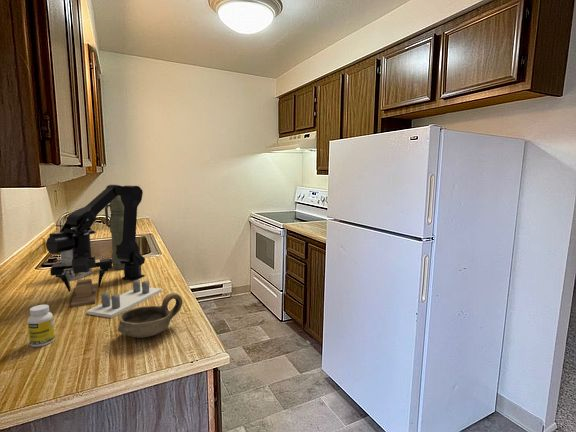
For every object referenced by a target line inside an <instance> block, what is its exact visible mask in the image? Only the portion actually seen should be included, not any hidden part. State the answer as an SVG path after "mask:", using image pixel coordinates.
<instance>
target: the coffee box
mask: <svg viewBox="0 0 576 432" xmlns="http://www.w3.org/2000/svg"><path fill="white" fill-rule="evenodd" d="M60 259H61V260H60V263H65V264H66V266H67V265H72V259H73V255H72V250H69V251H65V252H60ZM92 270H93V268H90V271H89V272H81V273H77V274H75V273H73V270H69V271H67V272H68V277H69V281H78V280H80V279H82V278H84V277H87V276H90V275H92V274H93V272H92Z"/></svg>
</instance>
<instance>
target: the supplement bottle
mask: <svg viewBox="0 0 576 432" xmlns="http://www.w3.org/2000/svg"><path fill="white" fill-rule="evenodd" d="M29 314H30V315H29V317H28V318H27V328H28V329H27V331H28V332H27V333H28V341H29V346H30V347H35V348H37V347H43V346H46V345H49V344H51V343H52V342H53V341H54V340H55V339H56V338H55V324H54V315H53V313H52V312H50V306H49V305H48V304H39V305H38V304H37V305H35V306H32V307H30V309H29Z"/></svg>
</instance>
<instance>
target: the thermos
mask: <svg viewBox="0 0 576 432" xmlns="http://www.w3.org/2000/svg"><path fill="white" fill-rule="evenodd" d="M108 209H109V210H108ZM109 212H110V214H109ZM104 215H105V225H106V226H107V228H109V232H110V233H111V247H112V248H111V249H112V253H111V259H112V269H113V270H114V269H115V271H124V265H125V264H121V263H120V260H119V259H118V258H117V254H116V251H117V249H116V246H117V245H120V244H121V242H122V240H123V221H124V205H123V203H122V201H121V196H119V195H118V196H116V197H115V198H114V199H113V200H112V201H111V202H110V203H109V204H108V205H107V206H106V207H105V208H104ZM109 215H110V218H109Z"/></svg>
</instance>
